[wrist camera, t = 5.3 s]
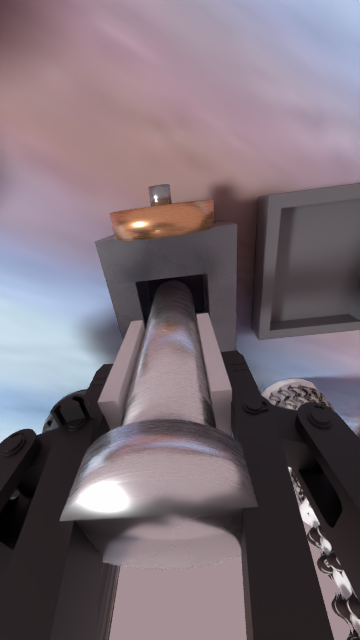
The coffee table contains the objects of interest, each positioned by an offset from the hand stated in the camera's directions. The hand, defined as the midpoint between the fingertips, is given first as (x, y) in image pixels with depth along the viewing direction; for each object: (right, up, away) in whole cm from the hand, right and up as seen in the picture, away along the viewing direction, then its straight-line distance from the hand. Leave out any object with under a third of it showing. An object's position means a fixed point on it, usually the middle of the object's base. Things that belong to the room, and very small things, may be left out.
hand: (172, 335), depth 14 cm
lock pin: (0, +3, +6) cm, 7 cm away
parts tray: (+13, +6, +7) cm, 16 cm away
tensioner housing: (0, +5, +7) cm, 9 cm away
